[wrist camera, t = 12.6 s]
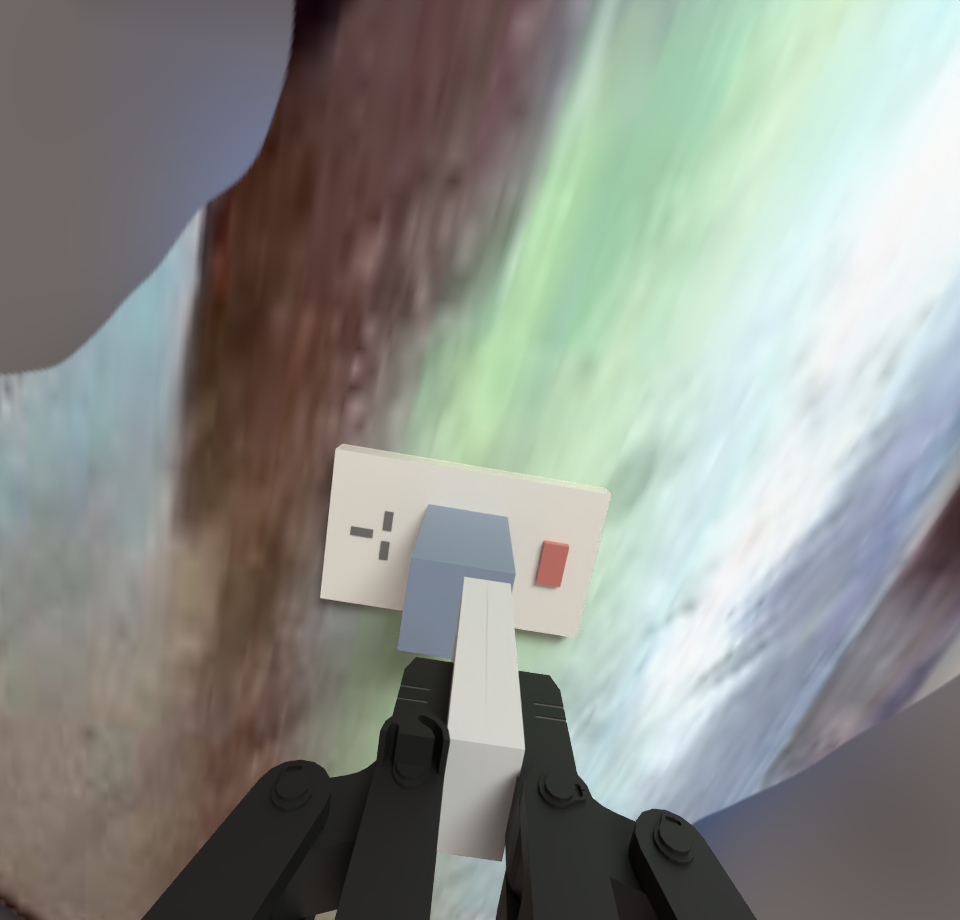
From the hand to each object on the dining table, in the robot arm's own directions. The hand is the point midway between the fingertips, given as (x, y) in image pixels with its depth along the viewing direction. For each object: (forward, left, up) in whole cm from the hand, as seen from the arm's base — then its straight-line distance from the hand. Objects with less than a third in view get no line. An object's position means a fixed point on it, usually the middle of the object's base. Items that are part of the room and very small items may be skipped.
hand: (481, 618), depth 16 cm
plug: (0, +8, -25) cm, 26 cm away
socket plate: (0, +8, -25) cm, 26 cm away
